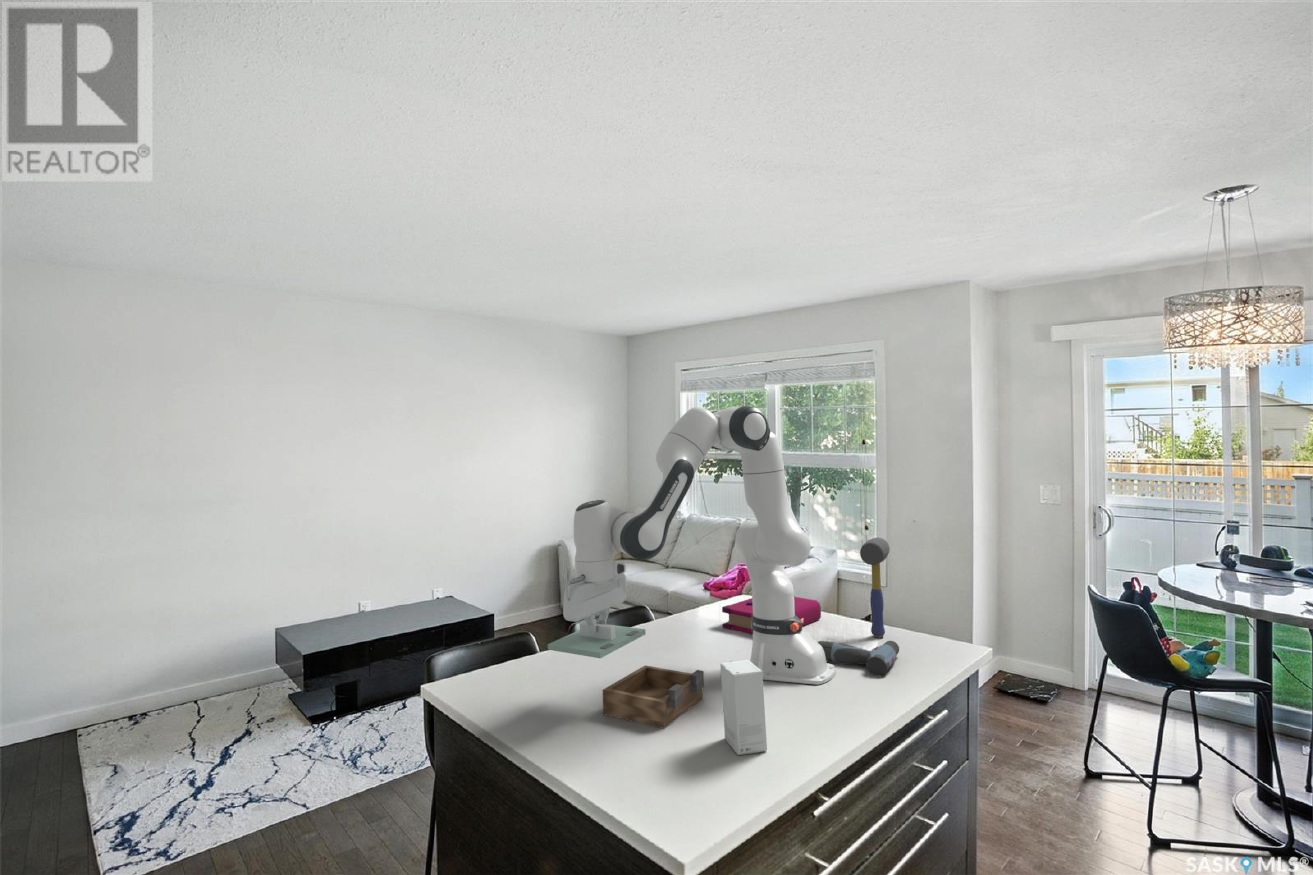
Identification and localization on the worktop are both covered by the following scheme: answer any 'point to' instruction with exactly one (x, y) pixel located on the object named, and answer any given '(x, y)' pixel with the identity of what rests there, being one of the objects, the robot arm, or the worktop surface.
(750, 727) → the skincare box
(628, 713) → the wooden crate tray
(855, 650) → the power drill
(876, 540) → the rubber mallet
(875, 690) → the worktop surface
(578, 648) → the green lid with handle
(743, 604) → the book
